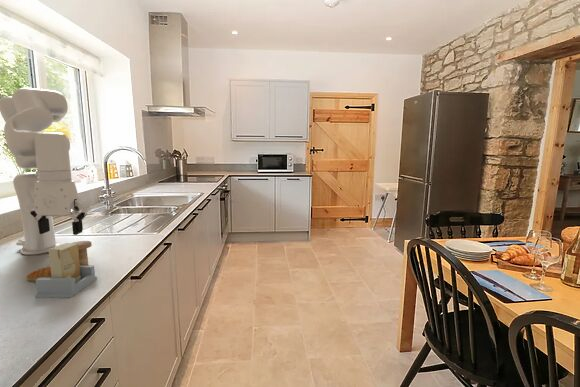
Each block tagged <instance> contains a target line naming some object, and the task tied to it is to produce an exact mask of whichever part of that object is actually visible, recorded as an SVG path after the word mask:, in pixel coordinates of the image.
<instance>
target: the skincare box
mask: <svg viewBox="0 0 580 387" xmlns="http://www.w3.org/2000/svg"><path fill="white" fill-rule="evenodd" d="M48 255H49V257H48V258H49V266H50V268H51V278H75V283H77V282H78V281H80V280H81V273H80V262H79V252H78V244H74V243H73V242H66V243H63V244H61V245H59V246H56V247H54V248H51V249H49V252H48Z"/></svg>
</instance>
